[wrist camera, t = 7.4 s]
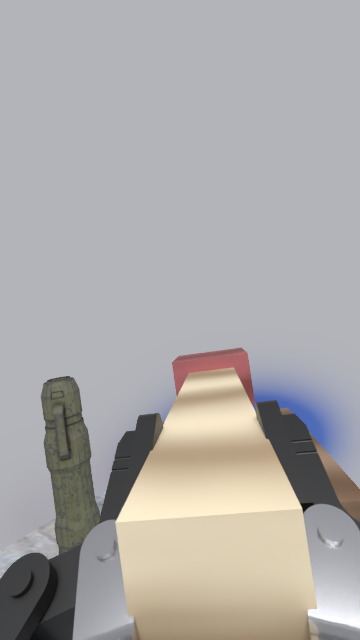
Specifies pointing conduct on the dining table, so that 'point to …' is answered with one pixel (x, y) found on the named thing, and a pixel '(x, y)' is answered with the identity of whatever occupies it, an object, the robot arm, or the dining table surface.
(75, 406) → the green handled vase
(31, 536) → the dining table surface
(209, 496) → the bar
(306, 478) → the robot arm
